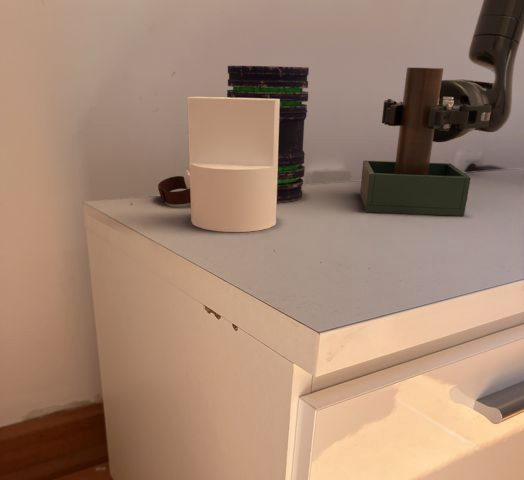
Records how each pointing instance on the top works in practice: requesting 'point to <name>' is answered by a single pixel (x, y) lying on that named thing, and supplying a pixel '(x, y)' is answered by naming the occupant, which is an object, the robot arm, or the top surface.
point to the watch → (174, 184)
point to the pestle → (417, 120)
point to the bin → (414, 190)
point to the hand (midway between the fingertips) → (411, 117)
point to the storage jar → (290, 116)
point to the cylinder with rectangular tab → (233, 162)
